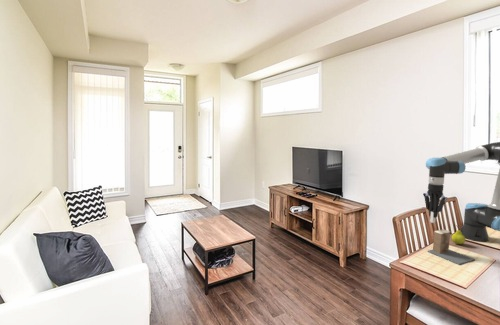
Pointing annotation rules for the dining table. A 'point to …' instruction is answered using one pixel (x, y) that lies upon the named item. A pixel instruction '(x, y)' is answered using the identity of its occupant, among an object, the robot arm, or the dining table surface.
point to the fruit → (458, 237)
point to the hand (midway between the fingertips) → (432, 222)
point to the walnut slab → (441, 241)
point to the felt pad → (453, 256)
